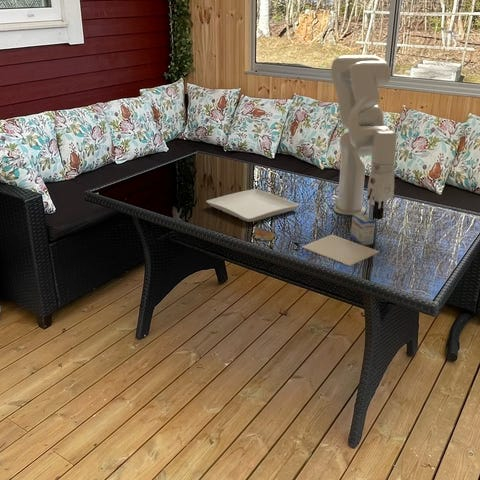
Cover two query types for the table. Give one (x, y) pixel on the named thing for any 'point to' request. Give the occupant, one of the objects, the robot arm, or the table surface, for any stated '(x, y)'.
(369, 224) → the medicine box
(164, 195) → the table surface
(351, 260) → the mat
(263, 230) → the shard
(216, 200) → the square plate
